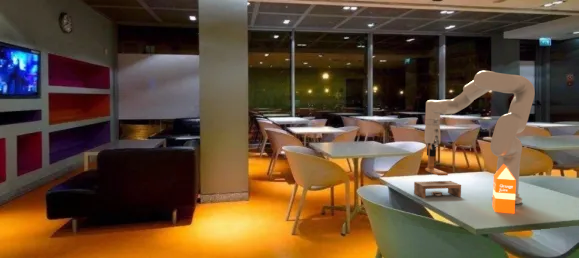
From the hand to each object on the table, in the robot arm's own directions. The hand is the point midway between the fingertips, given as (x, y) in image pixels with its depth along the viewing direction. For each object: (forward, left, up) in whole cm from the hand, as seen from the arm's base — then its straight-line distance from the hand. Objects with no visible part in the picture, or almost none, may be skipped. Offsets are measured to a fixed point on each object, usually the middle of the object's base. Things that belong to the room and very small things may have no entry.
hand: (431, 155), depth 223 cm
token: (-18, +5, -18) cm, 26 cm away
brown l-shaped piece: (-6, 0, -8) cm, 10 cm away
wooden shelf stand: (-18, +5, -18) cm, 25 cm away
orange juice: (-48, -10, -18) cm, 52 cm away
